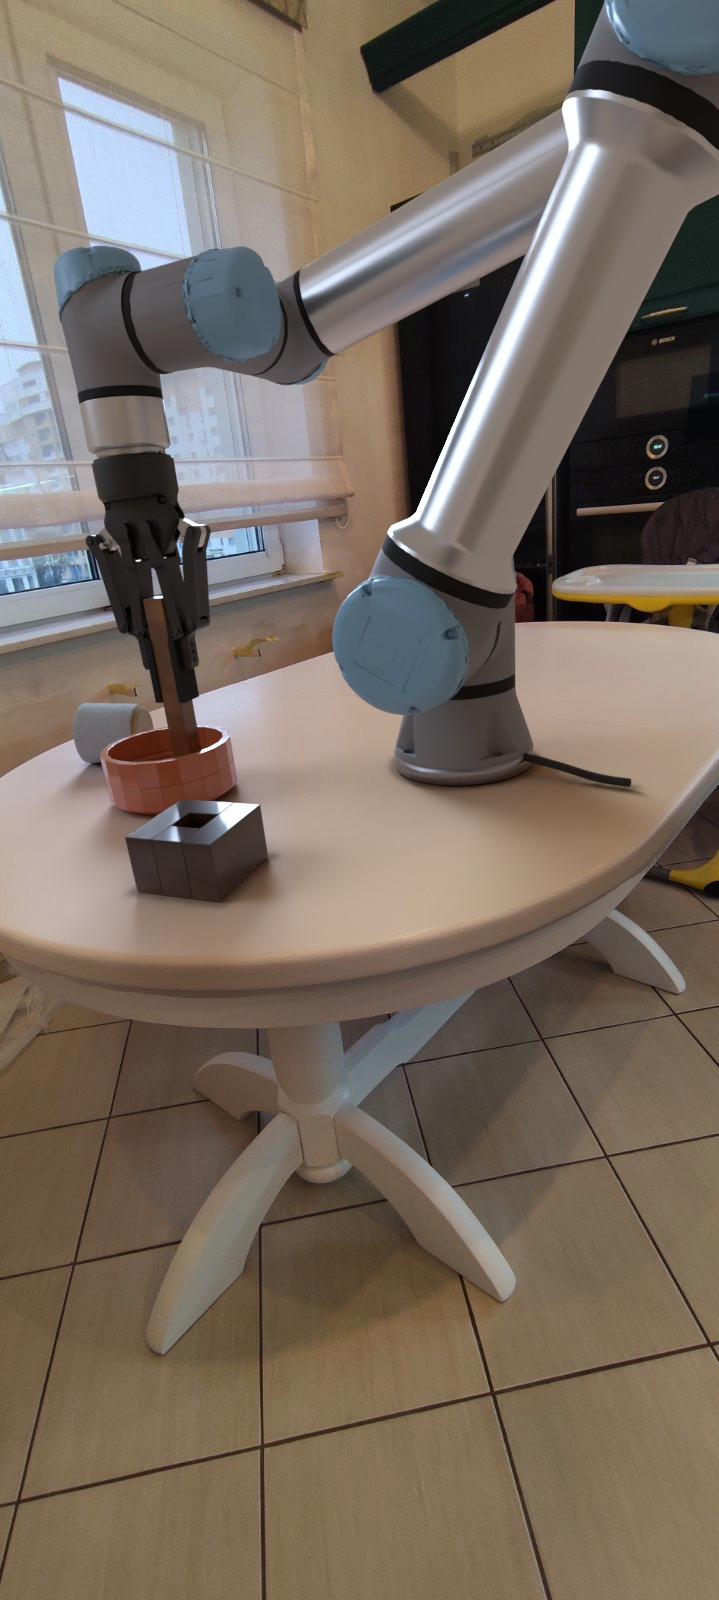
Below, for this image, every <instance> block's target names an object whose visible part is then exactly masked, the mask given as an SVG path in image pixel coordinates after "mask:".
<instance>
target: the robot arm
mask: <svg viewBox="0 0 719 1600" xmlns="http://www.w3.org/2000/svg"><path fill="white" fill-rule="evenodd" d="M718 195H719V0H604V2H603V5H602V8H601V10H600V12H599V15H598V17H597V19H596V22H595V24H594V27H593V30H592V32H591V35H590V37H589V40H588V41H587V44H586V47H585V49H584V51H583V54H582V56H581V59H580V62H579V64H578V67H577V69H576V71H575V73H574V76H573V78H572V81H571V84H570V86H569V88H568V92H567V93H566V95H565V99H564V101H563V104H562V107H560V108H559V109H557V110H556V111H554V112H553V113H550V114H549V115H548V116H546V117H544V118H542V119H540V120H539V121H538V122H536V123H534V124H533V125H531V126H529V127H528V128H526V129H524V130H523V131H521V132H520V133H518V134H517V135H515V136H513V137H511V138H510V139H508V140H507V141H505V142H503V143H502V144H500V145H499V146H497V147H495V148H494V149H492V150H491V151H489V152H487V153H486V154H484V155H482V156H481V157H479V158H478V159H476V160H474V161H473V162H471V163H469V164H468V165H466V166H465V167H463V168H461V169H459V170H458V171H457V172H455V173H453V174H451V175H450V176H449V177H446V178H445V179H444V180H442V181H440V182H438V183H437V184H435V185H434V186H432V187H431V188H429V189H428V190H426V191H424V192H422V193H421V194H419V195H417V196H415V197H414V198H413V199H411V200H409V201H408V202H406V203H405V204H403V205H402V206H400V207H398V208H397V209H395V210H393V211H391V212H390V213H388V214H387V215H385V216H383V217H382V218H380V219H378V220H377V221H375V222H374V223H372V224H370V225H369V226H367V227H365V228H364V229H362V230H360V231H359V232H357V233H356V234H354V235H353V236H351V237H349V238H348V239H346V240H345V241H343V242H341V243H340V244H338V245H336V246H335V247H333V248H331V249H330V250H328V251H327V252H325V253H323V254H322V255H320V256H319V257H317V258H315V259H314V260H312V261H310V262H309V263H307V264H305V265H304V266H303V267H302V268H300V269H298V270H296V271H295V272H293V273H291V274H289V275H288V276H286V277H284V278H283V279H281V280H279V281H278V282H276V281H275V279H274V276H273V274H272V272H271V270H270V268H269V267H267V266H265V263H264V261H263V258H262V257H261V255H260V254H259V253H258V252H257V251H255V250H253V249H252V248H251V247H247V246H241V245H240V246H233V247H226V248H209V249H207V250H206V251H205V250H204V251H202V252H200V253H199V254H197V255H193V256H190V257H186V258H182V259H178V260H176V261H172V262H168V263H164V264H161V265H158V266H155V267H151V268H147V269H144V270H143V269H142V266H141V263H140V261H139V260H138V258H137V257H136V255H134V254H133V253H132V252H130V251H129V250H126V249H123V248H120V247H117V246H110V245H93V246H90V247H86V246H85V247H84V246H78V247H74V248H71V249H68V250H65V251H64V252H62V253H61V254H60V255H59V256H58V257H57V258H56V259H55V262H54V265H53V278H54V285H55V291H56V292H55V293H56V300H57V306H58V311H57V314H58V319H59V322H60V324H61V327H62V332H63V336H64V340H65V344H66V347H67V352H68V357H69V361H70V365H71V369H72V374H73V379H74V383H75V387H76V391H77V399H78V404H79V411H80V416H81V422H82V426H83V432H84V437H85V442H86V447H87V451H88V452H89V453H91V454H93V455H95V456H96V459H94V460H93V461H92V462H93V463H91V468H92V475H93V478H94V484H95V488H96V493H97V497H98V499H99V500H100V502H101V503H102V504H103V506H104V517H103V525H104V526H103V527H102V529H100V530H99V531H98V532H97V533H96V534H89V535H87V536H86V537H85V544H86V547H87V548H88V549H89V551H90V552H91V554H92V556H93V557H94V559H95V560H96V564H97V567H98V570H99V573H100V576H101V580H102V582H103V585H104V588H105V592H106V595H107V598H108V602H109V604H110V608H111V611H112V614H113V617H114V620H115V623H116V626H117V630H118V631H119V633H121V634H123V635H126V634H128V635H131V636H133V637H134V638H135V639H136V640H137V643H138V647H139V652H140V658H141V661H142V666H143V668H144V669H145V671H149V675H150V680H151V686H152V690H153V696H154V700H155V703H156V704H163V699H162V694H161V689H160V684H159V679H158V674H157V669H156V664H155V658H154V653H153V648H152V643H151V638H150V633H149V628H148V623H147V618H146V613H145V608H144V602H143V599H146V598H150V597H155V592H154V590H155V589H154V581H153V572H152V569H153V570H154V571H155V574H156V578H157V582H158V585H159V589H160V592H161V596H163V600H164V603H165V607H166V611H167V614H168V618H169V621H170V625H171V629H172V632H173V633H172V634H169V637H170V638H171V639H169V640H167V642H168V647H169V653H170V658H171V663H172V669H173V674H174V679H175V685H176V690H177V695H178V701H179V703H186V702H188V701H190V700H192V701H193V700H194V699H195V700H196V699H197V698H199V697H200V693H199V687H198V682H197V681H198V680H197V677H196V670H195V668H197V667H199V663H200V659H199V658H200V657H199V654H198V653H199V652H198V647H197V642H196V634H197V633H198V632H199V631H201V630H203V629H205V628H208V627H209V626H210V625H211V614H210V594H209V577H208V575H209V573H208V557H207V549H208V545H209V541H210V538H211V534H212V531H211V530H212V529H211V527H210V526H209V525H208V524H207V523H206V524H205V523H203V524H198V523H195V521H194V522H193V521H192V520H190V519H188V518H186V516H185V512H184V510H183V508H182V507H181V505H180V502H179V499H178V498H179V497H178V496H179V493H180V489H179V483H178V476H177V470H176V464H175V459H174V457H172V455H171V453H167V452H166V449H169V448H170V446H171V445H172V443H171V437H170V432H169V424H168V419H167V414H166V408H165V402H164V396H163V386H162V381H161V380H162V379H161V375H170V374H173V373H177V372H183V371H188V370H195V369H200V368H215V369H219V370H223V371H227V372H232V373H236V374H240V375H245V376H249V377H250V376H251V377H255V378H257V379H258V378H259V379H263V380H265V381H268V382H271V383H274V384H277V385H280V386H292V385H293V386H294V385H296V386H297V385H298V386H299V385H306V384H308V383H310V382H313V381H314V380H315V379H316V378H318V377H319V376H320V374H321V373H322V372H323V371H324V369H325V367H326V365H327V364H328V362H329V359H331V358H332V357H334V356H336V355H337V354H340V353H342V352H343V351H345V350H347V349H349V348H351V347H352V346H354V345H356V344H359V343H360V342H363V341H364V340H366V339H368V338H370V337H371V336H373V335H375V334H377V333H379V332H382V331H383V330H385V329H387V328H388V327H391V326H393V325H395V324H397V323H399V322H400V321H402V320H404V319H406V318H408V317H409V316H411V315H413V314H415V313H417V312H419V311H421V310H423V309H425V308H426V307H429V306H431V305H433V304H434V303H436V302H438V301H440V300H442V299H444V298H446V297H447V296H449V295H451V294H453V293H454V292H456V291H459V290H460V289H462V288H464V287H467V286H468V285H470V284H472V283H474V282H475V281H477V280H479V279H481V278H484V277H485V276H487V275H489V274H490V273H493V272H495V271H497V270H498V269H500V268H502V267H504V266H506V265H508V264H510V263H512V262H513V261H516V260H518V259H519V258H521V257H523V259H522V262H521V264H520V267H519V269H518V272H517V274H516V276H515V278H514V281H513V283H512V286H511V288H510V290H509V293H508V295H507V297H506V300H505V302H504V304H503V306H502V309H501V312H500V314H499V316H498V318H497V321H496V323H495V325H494V328H493V330H492V333H491V335H490V337H489V340H488V342H487V344H486V347H485V350H484V352H483V354H482V356H481V359H480V361H479V363H478V365H477V368H476V370H475V373H474V375H473V377H472V380H471V383H470V384H469V387H468V389H467V391H466V394H465V397H464V398H463V401H462V403H461V406H460V408H459V410H458V413H457V415H456V418H455V420H454V422H453V424H452V427H451V428H450V432H449V434H448V436H447V439H446V441H445V444H444V446H443V448H442V451H441V453H440V455H439V458H438V460H437V462H436V464H435V467H434V469H433V471H432V474H431V477H430V479H429V481H428V484H427V486H426V488H425V489H424V490H425V491H424V493H423V495H422V497H421V499H420V503H419V505H418V507H417V510H416V512H415V513H414V514H412V515H411V516H410V517H408V518H406V519H403V520H400V521H399V522H396V523H393V524H391V525H390V527H389V529H388V530H387V532H386V535H385V538H384V540H383V542H382V545H381V548H380V550H379V553H378V555H377V556H376V559H375V561H374V564H373V567H372V569H371V572H370V574H369V576H368V578H367V580H365V581H363V582H361V583H359V584H358V585H357V586H355V588H354V589H353V590H352V592H350V593H349V594H348V595H347V596H346V598H345V599H344V600H343V602H342V603H341V605H340V606H339V608H338V611H337V613H336V615H335V617H334V618H335V619H334V622H333V627H332V635H331V636H332V637H331V640H332V650H333V655H334V660H335V662H336V663H337V664H338V668H339V670H340V672H341V675H342V678H343V679H344V682H346V684H347V685H348V687H349V688H350V689H351V690H352V691H353V692H354V693H355V695H356V696H357V697H359V698H360V699H361V700H362V701H364V702H365V703H366V704H368V705H370V706H371V707H373V708H375V709H377V710H378V711H379V710H380V711H382V712H385V713H388V714H392V715H398V716H402V720H401V722H400V726H399V730H398V731H399V732H398V735H397V739H396V742H395V747H394V748H395V749H394V761H395V762H394V763H395V769H396V770H397V772H399V773H400V774H401V775H403V776H405V777H406V778H409V779H411V780H414V781H416V782H417V781H418V782H421V783H425V784H433V785H443V786H470V785H480V784H487V783H493V782H499V781H502V780H506V779H509V778H512V777H515V776H517V775H519V774H521V773H524V772H525V771H527V770H528V769H529V768H530V767H531V766H532V764H535V765H537V766H542V767H545V768H550V769H552V770H557V771H559V772H563V773H566V774H568V775H572V776H575V777H578V778H582V779H585V780H588V781H592V782H595V783H600V784H605V785H612V786H618V787H624V788H625V787H627V788H630V787H631V786H632V778H630V777H622V776H615V775H607V774H603V773H597V772H594V771H591V770H587V769H584V768H581V767H580V768H579V767H576V766H574V765H571V764H568V763H565V762H561V761H557V760H553V759H551V758H547V757H543V756H540V755H536V754H534V743H533V739H532V736H531V732H530V729H529V726H528V724H527V722H526V719H525V716H524V712H523V709H522V707H521V703H520V701H519V698H518V695H517V689H516V687H517V686H516V590H517V588H518V584H517V573H516V570H515V563H514V562H515V561H514V560H515V559H514V554H515V552H516V550H517V548H518V546H519V545H520V542H521V541H522V538H523V537H524V534H526V533H525V532H526V531H527V529H528V527H529V524H530V523H531V521H532V519H533V517H534V515H535V513H536V511H537V509H538V507H539V505H540V503H541V501H542V499H543V497H544V495H545V493H546V492H547V489H548V488H549V485H550V484H551V482H552V480H553V478H554V476H555V474H556V472H557V470H558V468H559V466H560V464H561V462H562V461H563V458H564V456H565V454H566V452H567V450H568V448H569V447H570V444H571V442H572V440H573V439H574V437H575V435H576V433H577V430H578V429H579V427H580V425H581V423H582V421H583V419H584V417H585V415H586V413H587V411H588V409H589V407H590V405H591V403H592V401H593V400H594V398H595V395H596V393H597V392H598V390H599V388H600V386H601V384H602V381H603V380H604V379H605V376H606V374H607V372H608V370H609V368H610V366H611V364H612V362H613V360H614V358H615V356H616V355H617V352H618V350H619V348H620V346H621V345H622V343H623V341H624V339H625V337H626V335H627V333H628V331H629V329H630V327H631V325H632V323H633V321H634V319H635V317H636V316H637V313H638V311H639V309H640V307H641V306H642V303H643V302H644V300H645V297H646V295H647V294H648V292H649V290H650V287H651V286H652V284H653V281H654V280H655V278H656V276H657V275H658V273H659V270H660V268H661V267H662V264H663V262H664V260H665V258H666V256H667V255H668V252H669V250H670V248H671V246H672V244H673V242H674V241H675V239H676V237H677V235H678V233H679V231H680V228H681V227H682V225H683V223H684V222H685V219H686V218H687V215H688V214H689V212H690V211H691V210H692V209H694V208H695V207H696V206H699V205H700V204H702V203H704V202H706V201H708V200H710V199H712V198H714V197H716V196H718ZM178 542H180V543H182V548H181V549H182V550H181V555H180V551H179V547H178ZM118 548H120V551H119V549H118ZM181 562H182V563H181ZM181 564H182V569H181Z"/></svg>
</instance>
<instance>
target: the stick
mask: <svg viewBox="0 0 719 1600" xmlns="http://www.w3.org/2000/svg"><path fill="white" fill-rule="evenodd" d="M143 602H144V608H145V613H146V618H147V623H148V628H149V633H150V638H151V643H152V648H153V653H154V658H155V664H156V669H157V674H158V679H159V684H160V689H161V694H162V699H163V703H162V704H163V709H164V714H165V719H166V725H167V727H168V730H169V735H170V740H171V745H172V751H173V756H174V758H177V757H180V756H184V755H188V754H192V753H196V752H199V751H201V745H200V740H199V734H198V729H197V725H198V724H197V719H196V714H195V706H194V703H193V702H194V701H193V700H190V701H188V702H186V703H179V701H178V695H177V690H176V685H175V679H174V674H173V669H172V663H171V658H170V653H169V647H168V642H167V640H169V639H171V638H170V637H169V634H172V633H173V632H172V629H171V625H170V621H169V618H168V614H167V611H166V607H165V603H164V600H163V596H162V595H154V597H150V598H146V599H143Z"/></svg>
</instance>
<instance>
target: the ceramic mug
mask: <svg viewBox="0 0 719 1600" xmlns="http://www.w3.org/2000/svg"><path fill="white" fill-rule="evenodd" d="M153 729H155V728H154V722H153V718H152V715H151V713H150V712H149V710H148V709H147V708H146V707H145V706H144V705H140V704H135V703H124V702H123V703H122V702H121V703H111V702H110V703H108V702H107V703H105V702H103V703H102V702H84V703H82V704H80V705H79V706H78V707H77V709H76V711H75V713H74V716H73V722H72V734H73V742H74V746H75V749H76V752H77V754H78V756H79V757H80V759H81V760H82V761H83V762H84V763H87V764H98V763H101V759H100V755H101V751H102V750H103V749H104V748H105V747H106V746H108V745H109V744H111V743H113V742H115V741H117V740H119V739H121V738H124V737H127V736H130V735H133V734H136V733H140V732H144V731H148V730H153ZM101 764H102V763H101Z"/></svg>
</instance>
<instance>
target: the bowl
mask: <svg viewBox="0 0 719 1600" xmlns="http://www.w3.org/2000/svg"><path fill="white" fill-rule="evenodd" d="M197 729H198V734H199V740H200V745H201V751H199V752H196V753H192V754H188V755H184V756H180V757H177V758H174V756H173V751H172V745H171V740H170V735H169V730H168V726H165V727H159V728H154V729H153V730H148V731H144V732H140V733H136V734H133V735H130V736H127V737H124V738H121V739H119V740H117V741H115V742H113V743H111V744H109V745H108V746H106V747H105V748H104V749H103V750H102V751H101V755H100V759H101V767H102V771H103V775H104V779H105V783H106V788H107V792H108V797H109V801H110V803H111V804H112V805H113V806H114V807H115V808H117V809H120V810H123V811H126V812H131V813H135V814H140V815H159V814H160V813H162V812H163V811H165V810H166V809H168V808H169V807H171V806H172V805H174V804H175V803H177V802H178V801H180V800H181V799H186V800H200V801H216V800H217V799H219V798H220V797H222V796H223V795H224V794H226V793H227V792H228V791H230V790H231V789H233V788H234V786H235V785H236V783H237V781H238V775H237V769H236V763H235V758H234V751H233V745H232V740H231V739H232V738H231V735H230V732H229V730H228V729H226V728H223V727H222V726H217V725H211V724H197Z"/></svg>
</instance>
